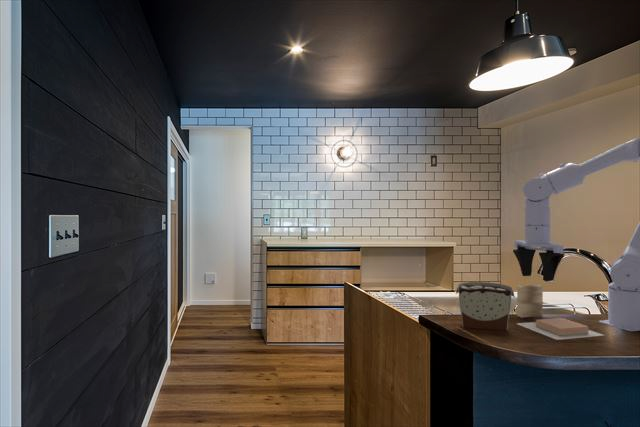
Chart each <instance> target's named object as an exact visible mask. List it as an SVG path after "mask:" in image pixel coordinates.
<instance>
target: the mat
mask: <svg viewBox="0 0 640 427" xmlns="http://www.w3.org/2000/svg"><path fill="white" fill-rule="evenodd" d="M516 325H518V326H520V327H523V328H526V329H527V330H531V331H533V332H536V333H539V334H541V335H544V336H546V337H549V338H551V339H552V340H553V339H554V340H556V341H560V340H569V339H570V340H572V339H581V338H592V337H602V336H606V335H605V334H602V333H600V332H597V331H593V330H590V329H588V334H581V335H570V336H559V335H556V334H553V333H551V332H548V331H545V330H543V329H540V328H538V327H536V321H532V322H531V321H530V322H529V321H528V322H519V323H516Z"/></svg>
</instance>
